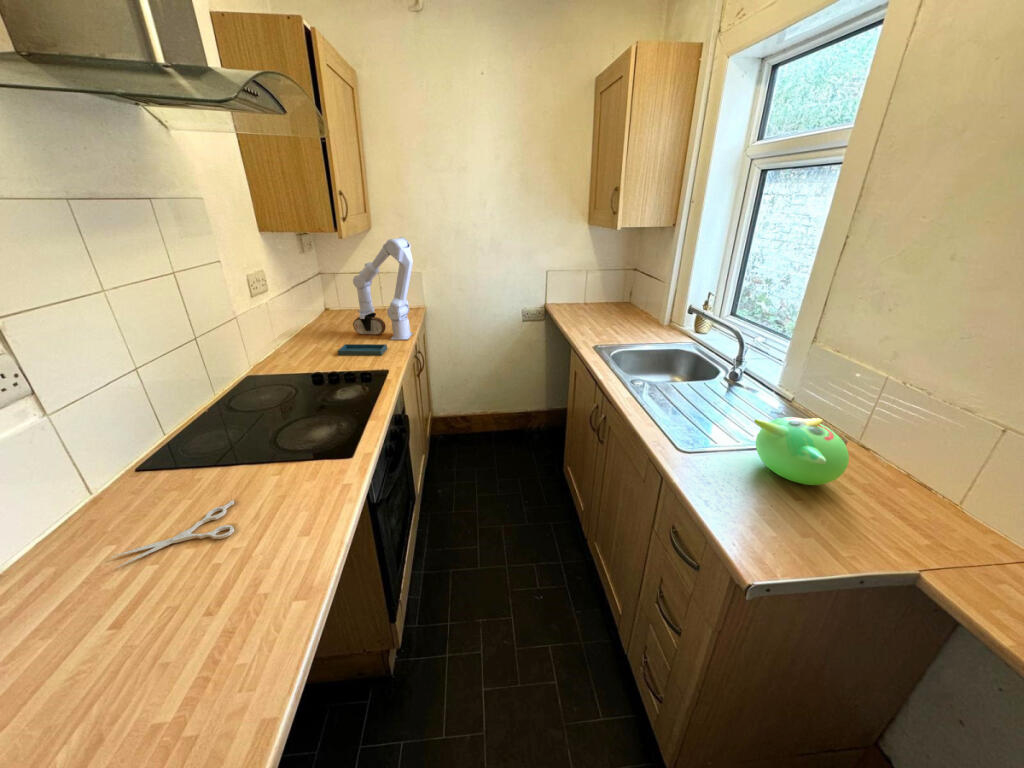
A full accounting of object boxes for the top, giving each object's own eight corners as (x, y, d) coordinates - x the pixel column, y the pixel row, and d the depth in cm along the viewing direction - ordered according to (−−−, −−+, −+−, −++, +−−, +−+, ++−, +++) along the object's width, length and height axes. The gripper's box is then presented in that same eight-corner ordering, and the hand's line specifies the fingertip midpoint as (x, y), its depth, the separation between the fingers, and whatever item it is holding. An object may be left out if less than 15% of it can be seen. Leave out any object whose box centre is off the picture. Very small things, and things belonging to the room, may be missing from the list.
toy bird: (851, 484, 95) (874, 429, 89) (811, 510, 88) (833, 451, 82) (773, 447, 109) (788, 397, 103) (733, 465, 102) (747, 413, 96)
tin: (386, 334, 198) (384, 316, 195) (384, 336, 195) (382, 318, 192) (356, 333, 200) (353, 316, 196) (353, 335, 197) (350, 317, 193)
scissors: (243, 527, 82) (107, 582, 70) (244, 530, 82) (109, 585, 71) (233, 499, 89) (109, 545, 78) (234, 502, 90) (110, 548, 78)
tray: (346, 348, 180) (345, 344, 179) (387, 348, 179) (386, 344, 178) (338, 355, 172) (337, 350, 171) (381, 355, 172) (380, 351, 171)
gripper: (362, 297, 198) (366, 325, 203) (350, 305, 184) (355, 334, 190) (376, 297, 197) (380, 325, 203) (366, 305, 184) (370, 334, 190)
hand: (369, 329), depth 197 cm, fingers open, 3 cm apart
